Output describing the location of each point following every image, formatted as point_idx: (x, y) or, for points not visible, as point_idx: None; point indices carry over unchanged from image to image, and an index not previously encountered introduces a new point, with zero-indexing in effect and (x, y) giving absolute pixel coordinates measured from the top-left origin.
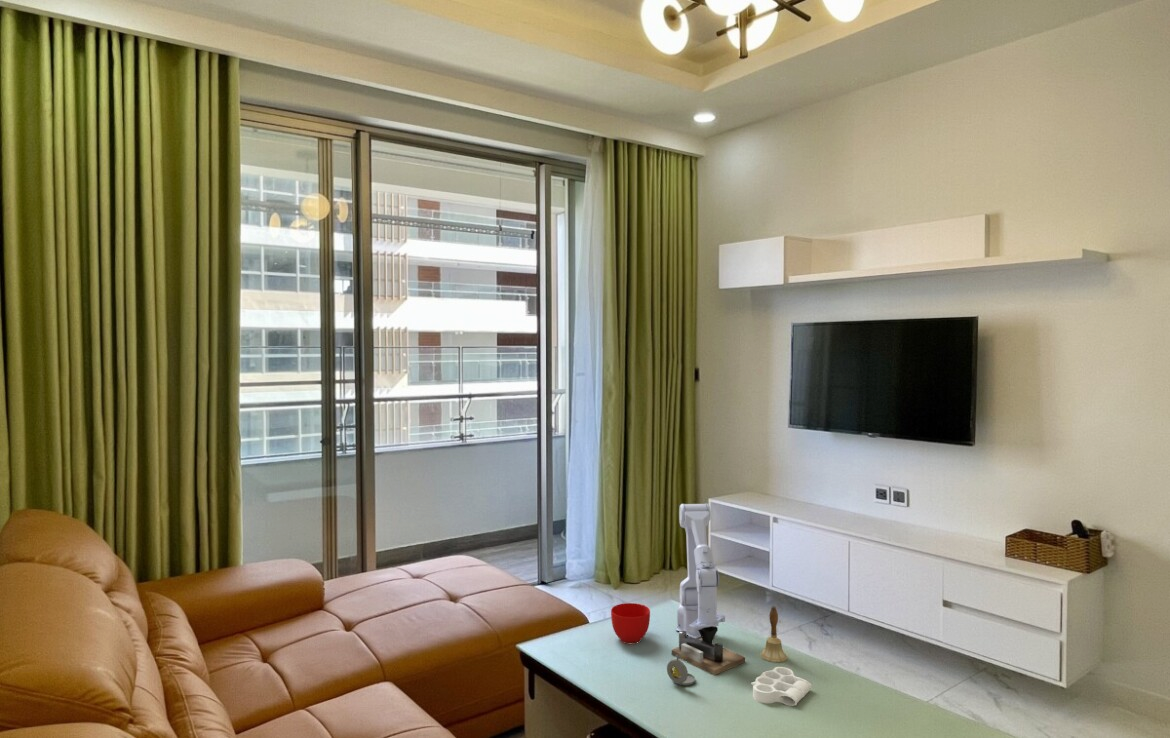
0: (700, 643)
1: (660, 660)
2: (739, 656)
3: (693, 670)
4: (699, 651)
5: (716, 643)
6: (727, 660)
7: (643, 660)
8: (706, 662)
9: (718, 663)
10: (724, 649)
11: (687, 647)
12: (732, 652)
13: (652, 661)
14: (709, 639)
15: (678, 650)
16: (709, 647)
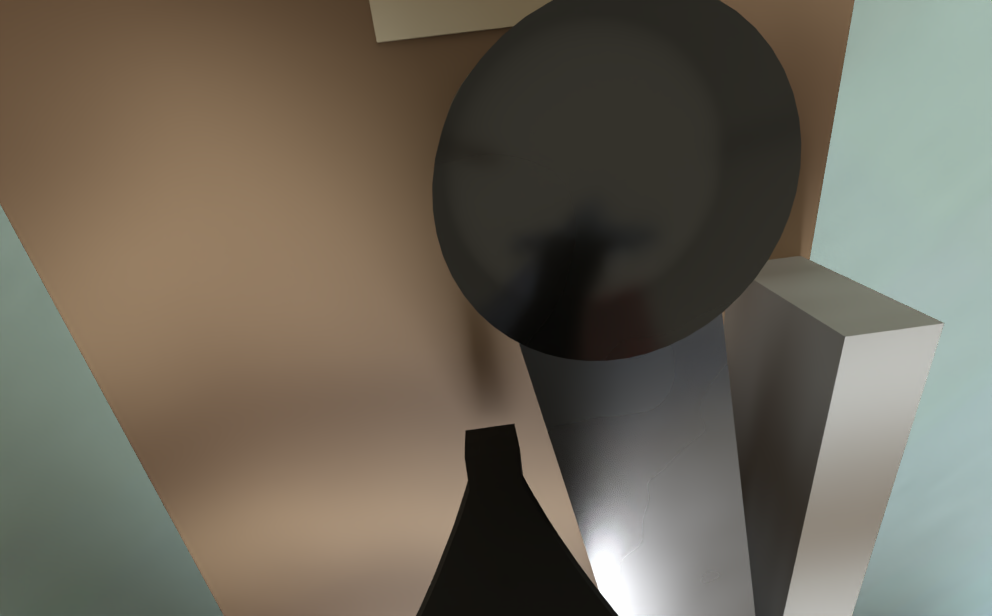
0: (748, 572)
1: (892, 542)
2: (4, 74)
3: (874, 221)
4: (880, 385)
5: (585, 340)
6: (352, 69)
7: (983, 590)
8: None
9: None
10: (158, 418)
11: (862, 576)
12: (73, 282)
13: (955, 553)
14: (605, 605)
15: None
16: (710, 368)
